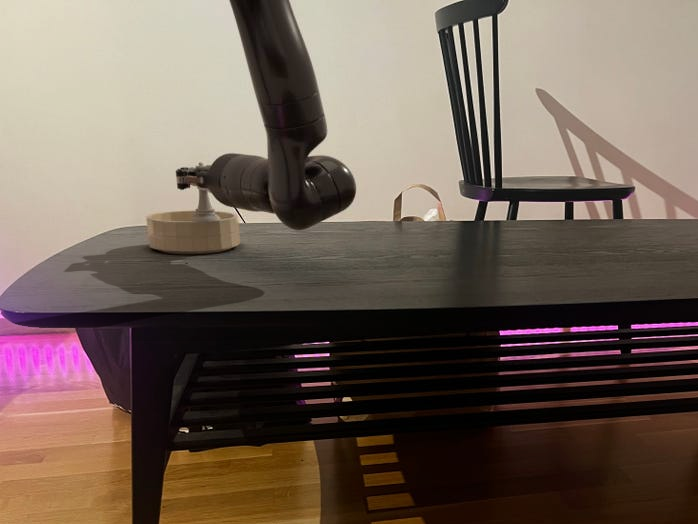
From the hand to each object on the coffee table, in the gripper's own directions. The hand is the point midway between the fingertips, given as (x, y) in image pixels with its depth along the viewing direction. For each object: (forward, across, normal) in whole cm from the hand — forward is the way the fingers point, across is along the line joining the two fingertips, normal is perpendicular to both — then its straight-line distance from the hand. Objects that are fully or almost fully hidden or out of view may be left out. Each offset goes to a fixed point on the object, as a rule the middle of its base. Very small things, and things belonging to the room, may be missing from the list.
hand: (193, 174), depth 109 cm
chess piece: (-3, 0, +8) cm, 9 cm away
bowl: (-1, +1, +11) cm, 11 cm away
